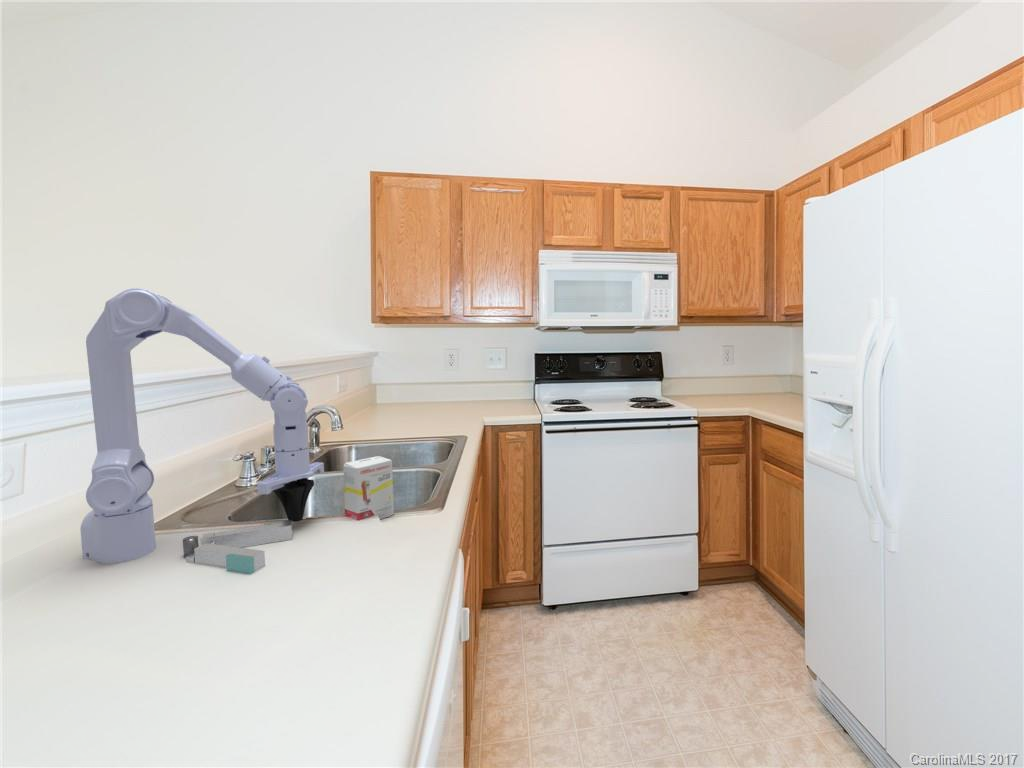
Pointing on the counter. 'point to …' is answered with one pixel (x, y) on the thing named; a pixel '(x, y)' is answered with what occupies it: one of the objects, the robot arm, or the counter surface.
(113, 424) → the robot arm
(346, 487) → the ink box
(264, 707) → the counter surface
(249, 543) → the bar
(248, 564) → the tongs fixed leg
